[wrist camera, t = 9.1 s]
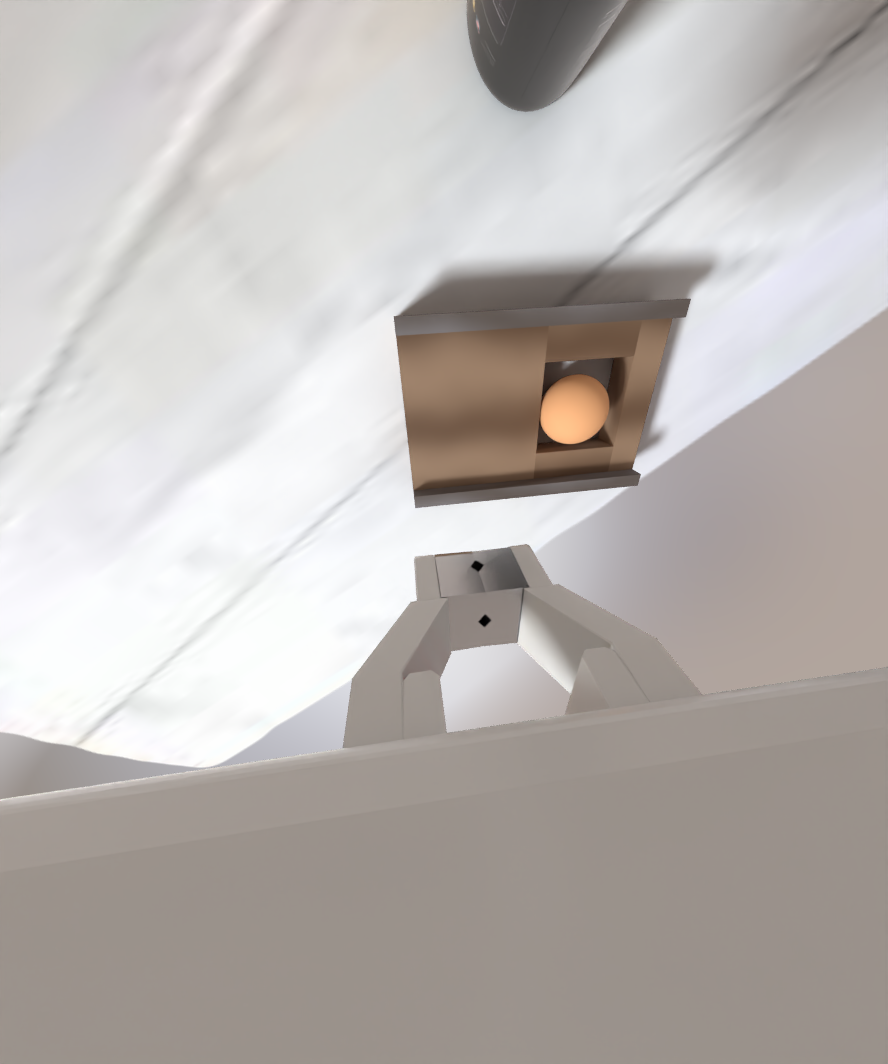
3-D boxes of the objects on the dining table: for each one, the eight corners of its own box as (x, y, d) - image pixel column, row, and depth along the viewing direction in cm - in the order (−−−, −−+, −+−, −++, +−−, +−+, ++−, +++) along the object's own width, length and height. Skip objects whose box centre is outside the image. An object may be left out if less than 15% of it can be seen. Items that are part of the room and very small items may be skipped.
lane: (394, 318, 23) (393, 316, 20) (653, 302, 24) (690, 298, 21) (413, 489, 30) (415, 508, 26) (613, 469, 31) (637, 485, 28)
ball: (619, 369, 24) (551, 372, 27) (608, 376, 21) (531, 379, 23) (608, 437, 27) (547, 434, 29) (596, 453, 23) (528, 449, 26)
